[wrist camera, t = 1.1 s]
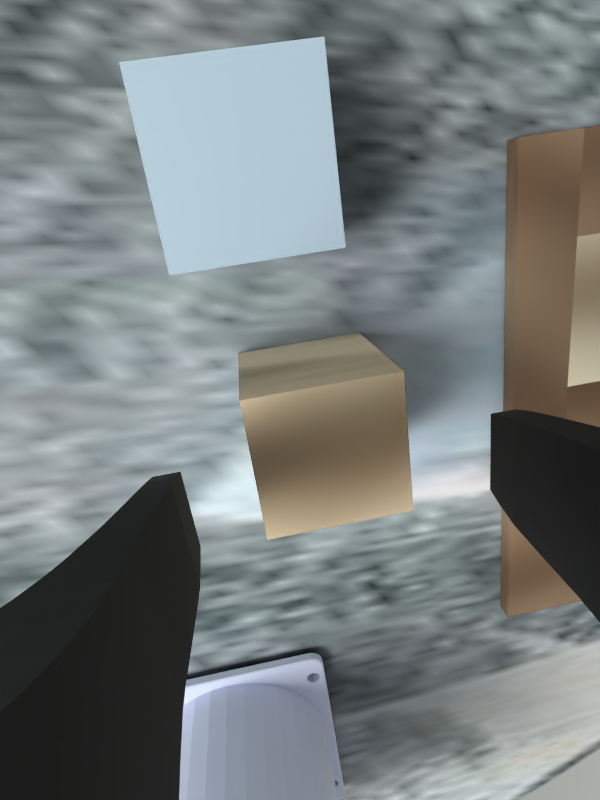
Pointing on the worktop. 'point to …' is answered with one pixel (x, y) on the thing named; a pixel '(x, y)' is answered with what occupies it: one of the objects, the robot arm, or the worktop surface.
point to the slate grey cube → (238, 152)
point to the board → (550, 316)
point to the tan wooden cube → (325, 433)
